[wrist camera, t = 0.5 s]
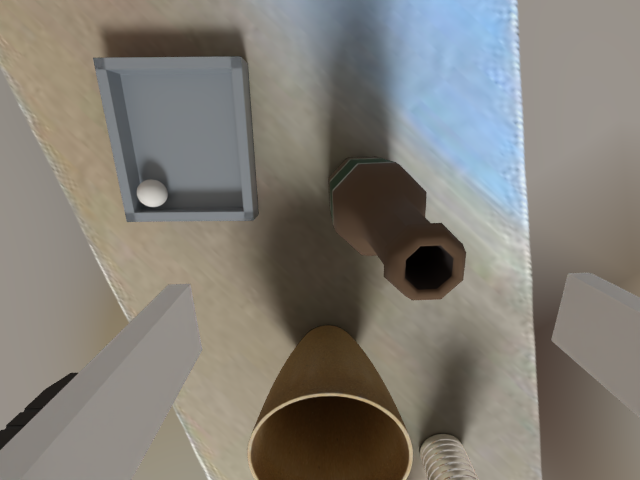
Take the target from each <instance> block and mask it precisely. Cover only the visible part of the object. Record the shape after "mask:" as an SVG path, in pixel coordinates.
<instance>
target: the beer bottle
mask: <svg viewBox="0 0 640 480" xmlns="http://www.w3.org/2000/svg"><path fill="white" fill-rule="evenodd" d="M329 199H330V210H331V216H332V221H333V227H334V229H335V231H336V232H337V233H338V234H339V235H340V236H341V237H342V238H344V239H345V240H346V241H347V242H348V243H349V244H350V245H351V246H352V247H354V248H355V249H356V250H357V251H358V252H359V253H360V254H361V255H366V256H373V255H378V257H379V258H380V260H381V261H382V262H383V264H384V277H385V278H386V279H387V280H388V281H389V282H390V283H391V284H393V285H394V286H395V287H396V288H397V289H398V290H399V291H400V292H401V293H403V294H404V295H405V296H406V297H408V298H410V299H411V300H432V299H442V298H443V297H444V296H445V295H446V294H447V293H449V292H450V291H451V290H452V289H453V288H454V287H456V286H457V285H458V284H459V283H460V282H461V281H463V276H464V267H465V258H466V251H465V249H464V246H463V244H462V243H461V242H460V241H459V240H458V239H457V238H456V237H455V236H454V235H453V234H452V233H451V232H450V231H449V230H448V229H447V228H446V227H445V226H444V225H443V224H442V223H430V222H429V221H428V220H427V219H426V218H425V210H426V191H425V190H424V189H423V188H422V187H421V186H420V185H419V184H418V183H417V182H416V181H415V180H414V179H413V178H412V177H411V176H410V175H409V174H408V173H407V172H406V171H405V170H404V169H403V168H402V167H401V166H400V165H399V164H397V163H396V162H393V161H389V160H385V159H382V158H378V157H361V158H346V160H345V161H344V162H343V163H342V164H341V165H340V166H339V167H338V168H337V169H336V170H335V172H334V173H333V174H332V175H331V176H330V177H329Z"/></svg>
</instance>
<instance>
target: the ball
mask: <svg viewBox="0 0 640 480" xmlns="http://www.w3.org/2000/svg"><path fill="white" fill-rule="evenodd" d="M137 197H138V199H139V200H140V202H141V203H143V204H144V205H146V206H149V207H158V206H160V205H162V204H163V203H164V202H165V201H166V200H167V197H168V192H167V189H166V187H165V186H164V184H162V183H161V182H159V181H157V180H152V179H150V180H145V181H143V182H142V183H140V185H139V186H138V188H137Z"/></svg>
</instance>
